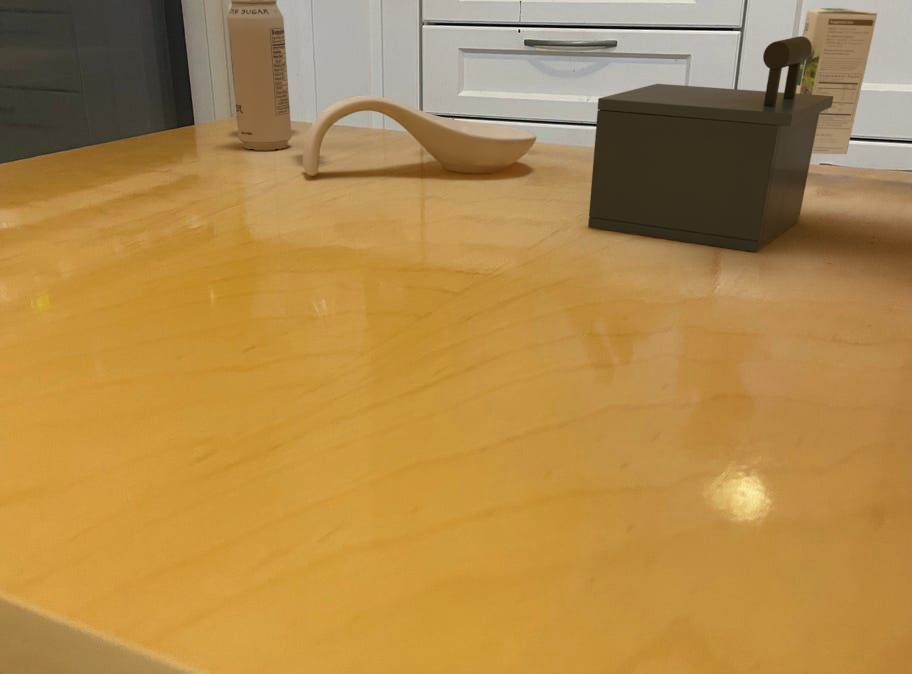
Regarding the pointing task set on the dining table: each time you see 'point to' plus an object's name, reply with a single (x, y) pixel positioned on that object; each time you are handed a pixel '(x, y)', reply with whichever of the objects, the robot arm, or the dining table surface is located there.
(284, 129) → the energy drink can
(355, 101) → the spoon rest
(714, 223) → the chest
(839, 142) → the syrup box
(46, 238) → the dining table surface
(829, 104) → the lid
